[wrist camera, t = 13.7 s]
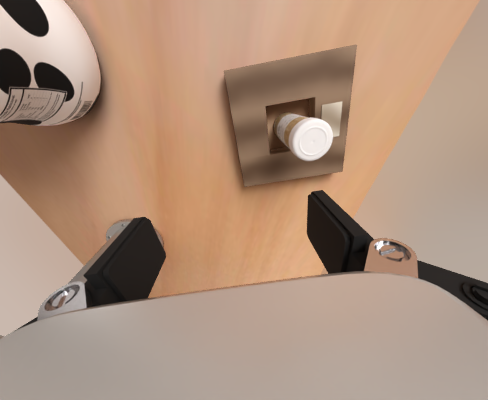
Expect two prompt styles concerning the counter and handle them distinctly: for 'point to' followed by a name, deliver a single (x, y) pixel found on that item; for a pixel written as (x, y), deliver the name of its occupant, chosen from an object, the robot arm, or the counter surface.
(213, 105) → the counter surface
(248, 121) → the socket board
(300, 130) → the sprinkles bottle
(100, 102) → the counter surface
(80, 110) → the milk container
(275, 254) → the counter surface
